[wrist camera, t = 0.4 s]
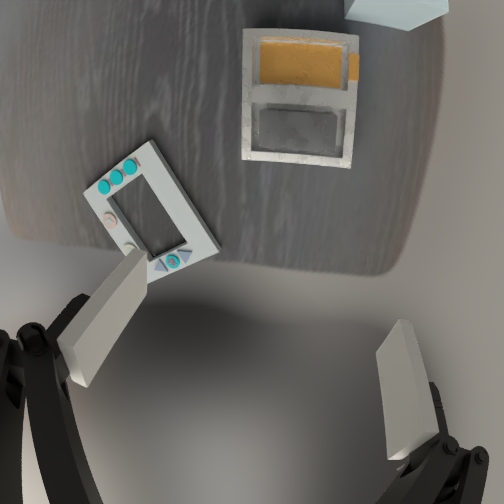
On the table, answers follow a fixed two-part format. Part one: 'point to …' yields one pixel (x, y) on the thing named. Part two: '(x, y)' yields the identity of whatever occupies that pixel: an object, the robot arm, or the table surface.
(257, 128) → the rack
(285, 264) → the table surface
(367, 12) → the block
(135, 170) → the electronic device
